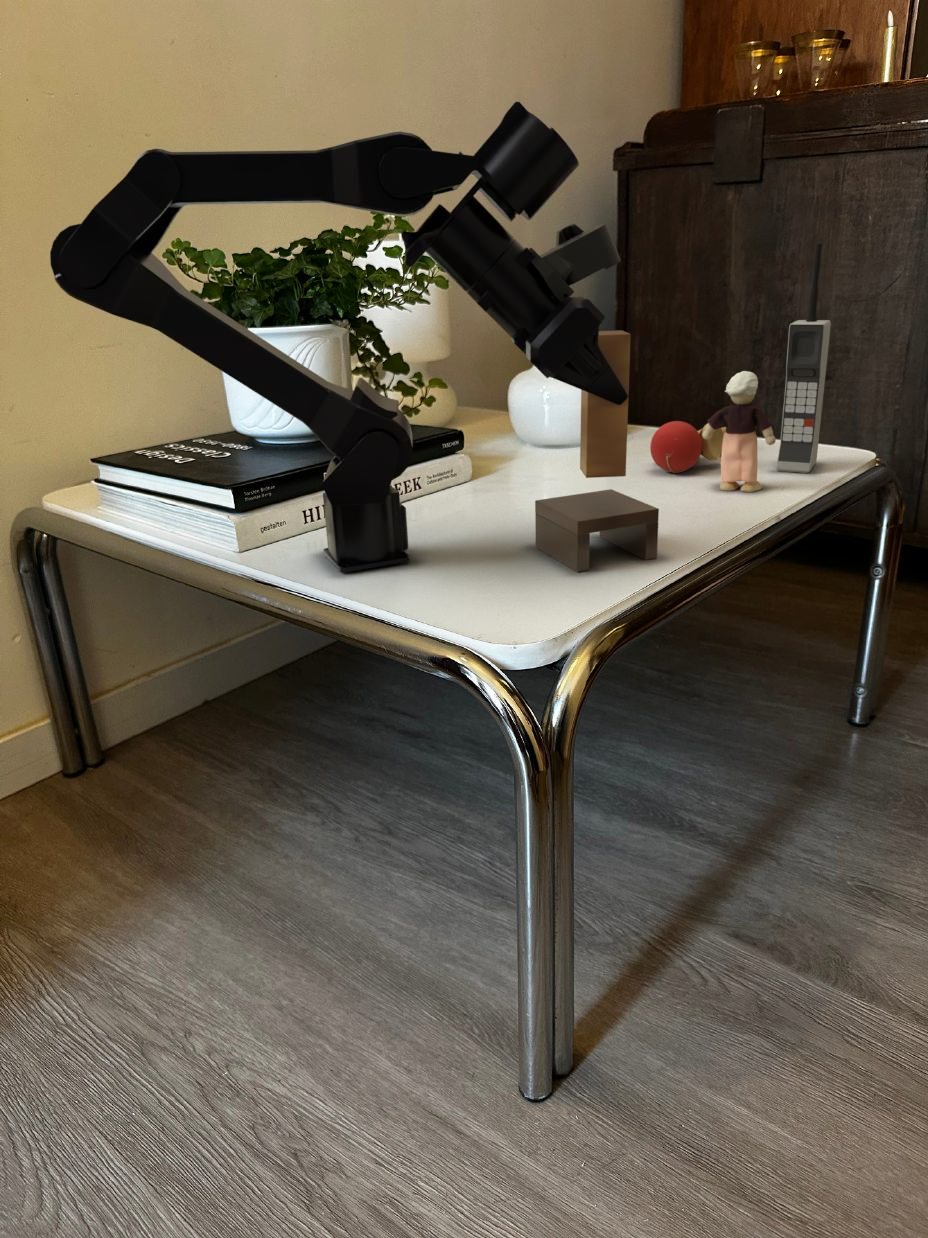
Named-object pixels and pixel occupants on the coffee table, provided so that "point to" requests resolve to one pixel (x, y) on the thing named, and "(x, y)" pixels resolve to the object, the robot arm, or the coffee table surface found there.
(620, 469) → the block
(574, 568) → the shelf
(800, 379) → the vintage mobile phone
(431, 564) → the coffee table surface
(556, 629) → the coffee table surface
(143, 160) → the robot arm
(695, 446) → the kendama
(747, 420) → the grandmother figurine
